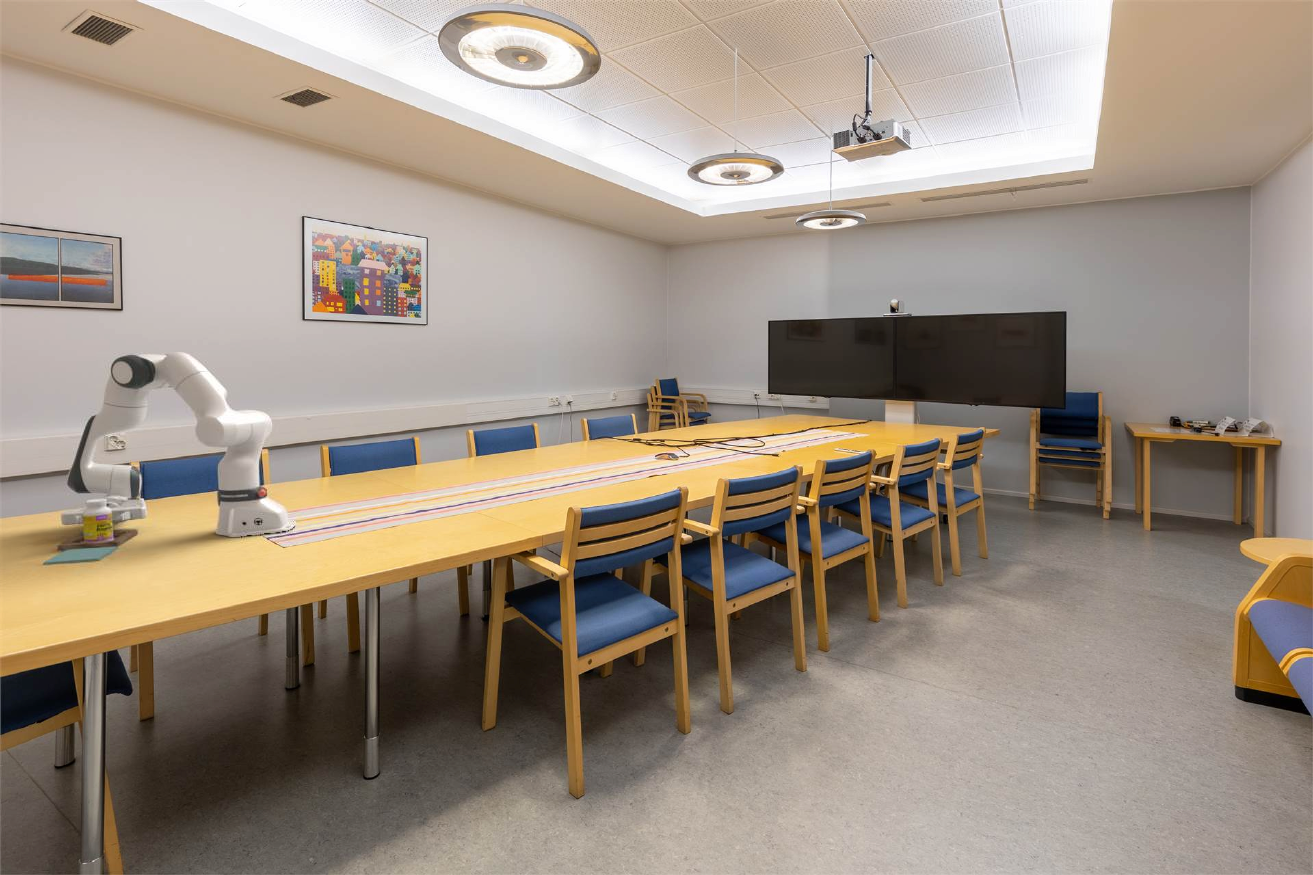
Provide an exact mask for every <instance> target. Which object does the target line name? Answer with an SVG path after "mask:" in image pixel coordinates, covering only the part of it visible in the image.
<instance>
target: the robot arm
mask: <svg viewBox="0 0 1313 875" xmlns="http://www.w3.org/2000/svg"><path fill="white" fill-rule="evenodd" d="M165 388H172V389H173V390H174V391H175V392H176V393H177V395H179V397H180V398H181V399H182V400H183V401H184V403H186V405H187V406H188V407H189V408H190V409H191V411H192V412H193V414H194V415H195V418H196V421H197V422H196V425H195V430H194V431H195V435H196V438H197V440H198V441H199V442H200V443H201V444H202V445H204V446H205V447H211V448H226V451H225V454H224V456H223V457H222V459H221V460H220V461H219V462H218V464H217V479H218V482H217V483H218V489H217V493H216V497H217V500H216V502H217V506H218V507H219V508H218V509H219V510H218V519H217V523H216V524H217V526H216V528H215V534H216V535H219V536H225V537H229V538H240V537H241V536H242V537H248V536H247V535H252V536H261V535H265V534H264V533H271V534H277V533H276V532H280V533H283V532H282V531H286V530H289V531H291V530H290V529H291V528H293V527H294V526H295V525H296V526H297V521H296V519H295V520H294V519H289V518H290V517H289V514H288V511H287V508H286V507H285V506H284V505H283V504H280V503H278V502H277V501H275V500H273V499H271V498H270V497H268V487H267V486H265V487H264V486H262V485H260V458H261V455H262V450H263V447H264V444H265V442H266V439H267V438H268V437H269V436H270V435H271V433H272V431H273V421H272V419H271V417H270V415H268V414H267V413H265V412H264V411H260V410H255V409H240V410H239V409H238V410H234V409H232V408H231V407H230V405H229V404H228V403H227V397H228V391H227V389H226V388H225V387H224V386H223V385H222V384H221V383H220V381H219V380H218V379H217V378H216V377H215V376H214V375H213V373H211V372H210V371H209V370H208V368H206V366H204V364H202V363H201V362H200V361H198V360H197V359H196V358H194V356H192V355H191V354H189V353H186V352H184V351H175V352H171V353H169V354H158V353H156V354H153V353H143V354H141V353H140V354H127V355H123V356H120V357H118V358H116V359H114V360H113V362H112V363H111V366H110V374H109V377H108V378H107V382H106V385H105V388H104V396H103V404H102V407H101V409H100V411H99V412H98V413H97V414H95V415H91V417H90V418H89V419H88V421H87V422H86V424H85V427H84V429H83V432H82V435H81V438H80V441H79V444H78V448H77V451H76V454H75V457H74V460H73V463H72V465H71V468H70V470H69V471H68V474H67V476H66V478H67V479H66V482H67V484H66V485H67V486H68V488H69V489H71V491H73V492H75V493H77V494H106V495H105V496H103V497H102V498H101V499H106V500H107V504H106V507H108V508H110V509H111V511H112V523H113V526H114V525H117V524H120V523H123V522H128V521H134V520H143V519H146V518H147V517H148V513H147V512H148V510H147V503H146V502H145V499H144V498H142V497H141V498H140V497H139V496H140V495H141V492H142V490H143V485H144V482H143V480H144V477H143V474H142V472H141V471H140V470H139V469H138V467H137V466H135V465H126V464H110V463H109V464H108V463H96V462H94V461H93V458H94V456H95V453H96V449H97V446H98V442H99V440H100V439H101V438H102V437H105V436H107V435H111V434H116V433H122V432H125V431H129V430H132V429H134V428H137V427H139V426H140V425H141V424H142V423H143V422H144V421H145V420H146V418H147V412H148V405H149V404H148V403H149V393H150V391H151V390H154V389H156V390H157V389H165ZM86 509H87V507H85V508H84V507H83V508H73V509H70V510H67V511H64V512H62V513H61V516H60V518H61V519H60V520H61V524H62V525H63V526H71V525H72V526H73V525H83V517H82V513H83V511H84V510H86ZM296 526H295V527H296ZM293 529H294V528H293ZM286 532H287V531H286ZM260 534H261V535H260Z"/></svg>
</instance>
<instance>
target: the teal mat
mask: <svg viewBox="0 0 1313 875" xmlns="http://www.w3.org/2000/svg"><path fill="white" fill-rule="evenodd" d="M118 549H120V548H119V546H117V547H102V548H87V549H72V550H63V551H62V552H60V553H58V554H56V555H55V556H52V557H51V558H49V559H47V560H45V561H44V562H43V563H42V564H43V565H56V564H57V563H59V564H71V563H81V562H83V563H85V562H97V561H98V562H99V561H100V560H102V559H104V558H106V557H107V556H109V555H110V554H112V553H114V552H115V551H117V550H118ZM57 565H58V564H57Z"/></svg>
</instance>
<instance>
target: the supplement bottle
mask: <svg viewBox="0 0 1313 875" xmlns="http://www.w3.org/2000/svg"><path fill="white" fill-rule="evenodd" d="M106 504H107V500H106V499H102V498H95V499H93V498H92V499H89V500H86V501H85V506H86V508H87V509H86V510H84V511H83V513H82V517H83V524H82V528H83V530H82V531H83V533H84V541H83V542H97V541H112V540H114V537H113V531H114V525H113V523H112V511H111V509H110V508H108V507H106Z"/></svg>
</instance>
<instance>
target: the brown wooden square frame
mask: <svg viewBox="0 0 1313 875" xmlns="http://www.w3.org/2000/svg"><path fill="white" fill-rule="evenodd" d="M138 534H139V533H138V529H129V530H113V540H112V541H97V542H84V532H82V533H79V534H77V535H76V536H73V537H72V538H70V539H68V540H65V541H64V542H62V543H60V544H58V545H57V546H56V547H57V548H56V550H57V551H58V552H59V550H61V551H66V550H72V549H87V548H102V547H117V546H118V547H119V546H121V545H123V544H125V543H126V542H128V541H130V540H131V539H133V538H134V537H136V536H138ZM82 541H83V542H82Z"/></svg>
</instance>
